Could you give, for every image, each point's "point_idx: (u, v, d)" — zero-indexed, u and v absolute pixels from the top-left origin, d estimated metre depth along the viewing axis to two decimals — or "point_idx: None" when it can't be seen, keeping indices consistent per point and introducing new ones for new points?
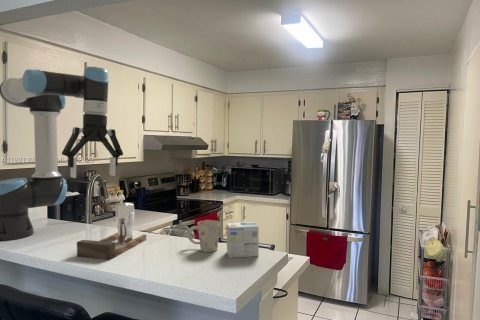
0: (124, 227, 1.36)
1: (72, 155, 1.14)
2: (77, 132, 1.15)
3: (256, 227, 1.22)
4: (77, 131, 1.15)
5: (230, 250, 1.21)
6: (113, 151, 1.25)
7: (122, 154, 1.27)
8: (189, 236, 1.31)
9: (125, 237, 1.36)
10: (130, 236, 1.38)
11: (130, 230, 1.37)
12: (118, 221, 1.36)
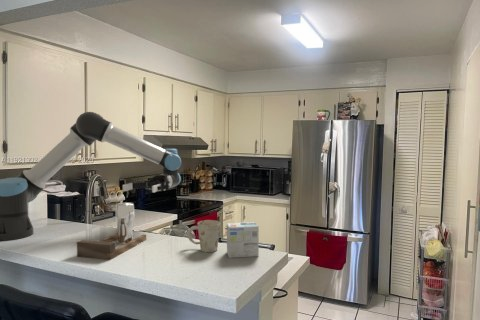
0: (124, 227, 1.36)
1: None
2: None
3: (256, 227, 1.22)
4: None
5: (230, 250, 1.21)
6: None
7: None
8: (189, 236, 1.31)
9: (125, 237, 1.36)
10: (130, 236, 1.38)
11: (130, 230, 1.37)
12: (118, 221, 1.36)
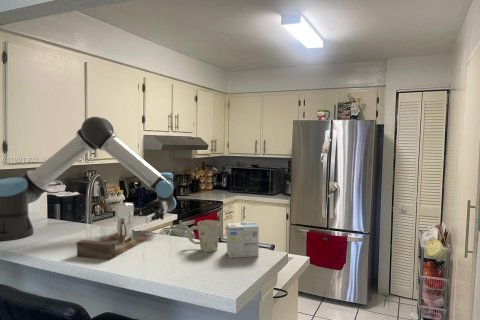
0: (124, 227, 1.36)
1: None
2: None
3: (256, 227, 1.22)
4: None
5: (230, 250, 1.21)
6: None
7: None
8: (189, 236, 1.31)
9: (125, 237, 1.36)
10: (130, 236, 1.38)
11: (130, 230, 1.37)
12: (118, 221, 1.36)
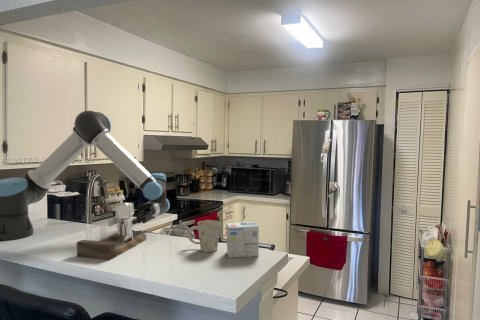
0: (124, 227, 1.36)
1: None
2: None
3: (256, 227, 1.22)
4: None
5: (230, 250, 1.21)
6: None
7: None
8: (189, 236, 1.31)
9: (125, 237, 1.36)
10: (130, 236, 1.38)
11: (130, 230, 1.37)
12: (118, 221, 1.36)
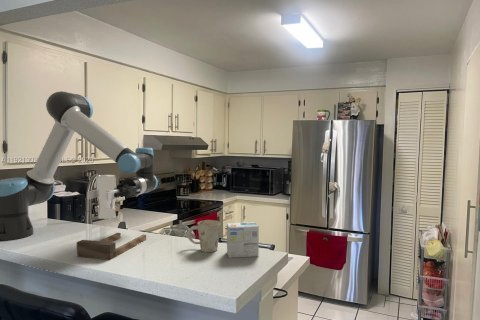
0: (105, 200, 1.24)
1: None
2: None
3: (256, 227, 1.22)
4: None
5: (230, 250, 1.21)
6: None
7: None
8: (189, 236, 1.31)
9: (105, 212, 1.24)
10: (112, 211, 1.25)
11: (112, 204, 1.25)
12: (98, 194, 1.23)
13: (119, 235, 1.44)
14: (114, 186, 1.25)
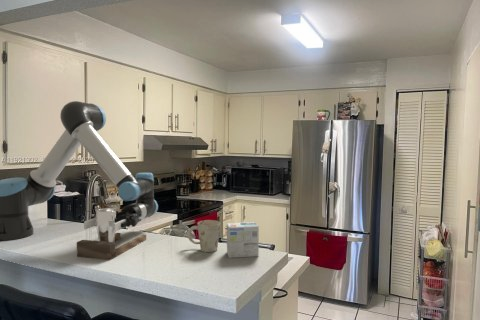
0: (105, 235, 1.24)
1: None
2: None
3: (256, 227, 1.22)
4: None
5: (230, 250, 1.21)
6: None
7: None
8: (189, 236, 1.31)
9: None
10: None
11: (112, 238, 1.26)
12: (98, 229, 1.24)
13: (119, 235, 1.44)
14: (114, 221, 1.26)
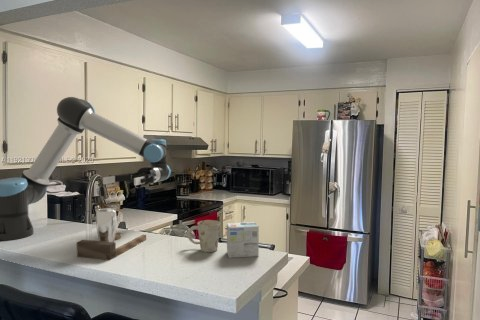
0: (105, 235, 1.24)
1: None
2: (153, 180, 1.48)
3: (256, 227, 1.22)
4: (153, 180, 1.48)
5: (230, 250, 1.21)
6: None
7: None
8: (189, 236, 1.31)
9: None
10: None
11: (112, 238, 1.26)
12: (98, 229, 1.24)
13: (119, 235, 1.44)
14: (114, 221, 1.26)
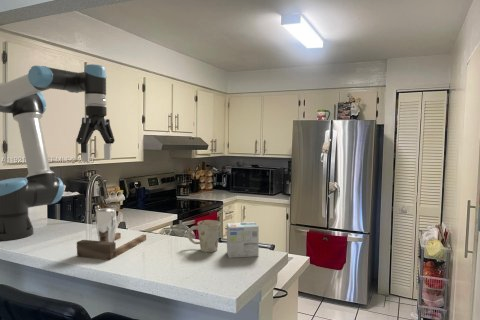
0: (105, 235, 1.24)
1: (86, 142, 1.31)
2: (88, 121, 1.31)
3: (256, 227, 1.22)
4: (88, 121, 1.31)
5: (230, 250, 1.21)
6: (109, 138, 1.44)
7: (114, 140, 1.48)
8: (189, 236, 1.31)
9: None
10: None
11: (111, 238, 1.26)
12: (98, 229, 1.24)
13: (119, 235, 1.44)
14: (114, 221, 1.26)
